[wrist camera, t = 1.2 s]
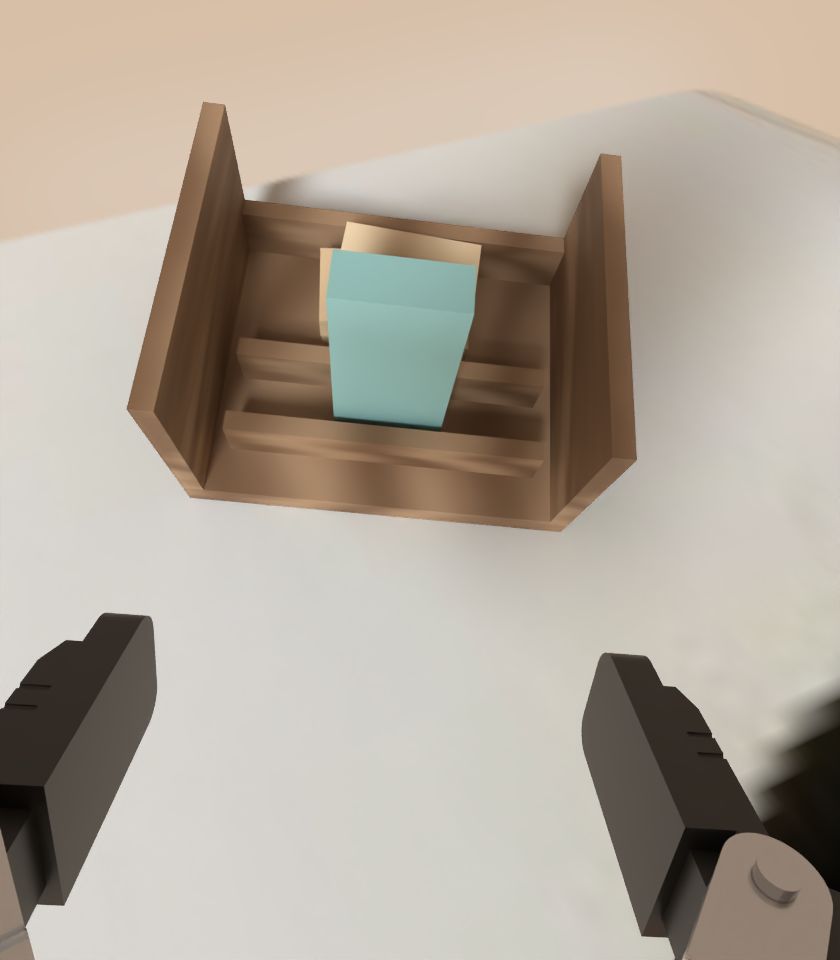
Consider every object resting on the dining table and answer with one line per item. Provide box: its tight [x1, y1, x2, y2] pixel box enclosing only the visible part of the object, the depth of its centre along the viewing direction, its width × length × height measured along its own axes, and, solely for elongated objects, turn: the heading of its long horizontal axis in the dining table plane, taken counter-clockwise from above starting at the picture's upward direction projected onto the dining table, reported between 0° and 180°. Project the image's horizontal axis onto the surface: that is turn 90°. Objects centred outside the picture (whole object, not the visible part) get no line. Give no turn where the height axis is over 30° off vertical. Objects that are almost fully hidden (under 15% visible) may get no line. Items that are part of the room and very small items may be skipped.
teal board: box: [326, 249, 476, 432], centre depth 30 cm, size 6×2×12 cm, turn 86°
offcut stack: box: [319, 222, 482, 361], centre depth 36 cm, size 9×5×4 cm, turn 86°
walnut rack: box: [127, 102, 637, 532], centre depth 34 cm, size 20×16×10 cm
